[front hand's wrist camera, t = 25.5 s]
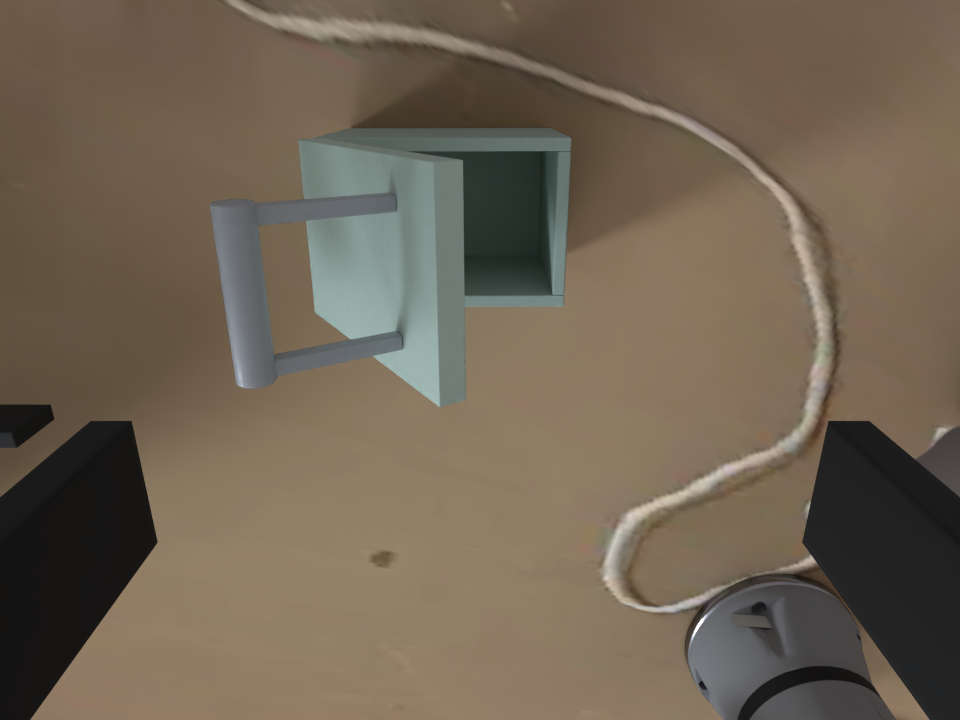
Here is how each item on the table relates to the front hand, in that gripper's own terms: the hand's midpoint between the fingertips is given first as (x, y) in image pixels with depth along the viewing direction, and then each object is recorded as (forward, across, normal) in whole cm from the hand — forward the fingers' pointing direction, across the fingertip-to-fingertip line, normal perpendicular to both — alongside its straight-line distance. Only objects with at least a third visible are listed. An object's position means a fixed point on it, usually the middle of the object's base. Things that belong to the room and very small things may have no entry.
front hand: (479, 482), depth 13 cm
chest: (+37, +2, 0) cm, 37 cm away
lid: (+20, +4, 0) cm, 20 cm away
